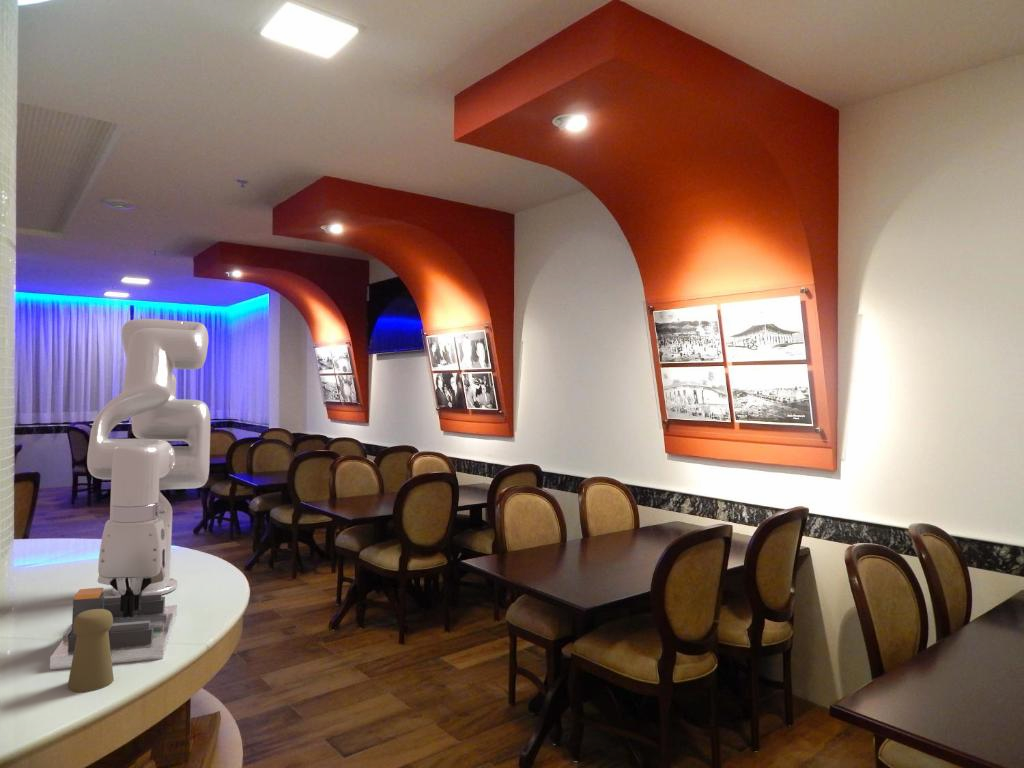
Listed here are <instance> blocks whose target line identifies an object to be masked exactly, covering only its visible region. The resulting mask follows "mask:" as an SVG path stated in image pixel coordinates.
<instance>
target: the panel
mask: <svg viewBox="0 0 1024 768" xmlns="http://www.w3.org/2000/svg"><path fill="white" fill-rule="evenodd" d="M177 610H178V605H177V604H174V605H165V609H164V612H163V613H156V614H144V615H135V616H134V617H129V616H128V617H125V618H123V616H118V617H113V623H125V622H137V621H149V620H150V625H154V630H153V640H152V643H151V644H145V645H134V646H123V647H113V648H110V651H111V660H112V665H113V664H120V663H121V664H125V663H131V662H141V661H142V662H143V661H152V660H161V659H163V658H164V657H165V656H164V655H165V652H166V649H167V646H168V644H169V640H170V636H171V633H172V632H173V631H172V630H173V628H174V625H175V621H176V618H177V616H178V613H177V612H178V611H177ZM71 633H72V623H71V624H70V625H69V627H68V628H67V630H65V632H64V634H63V636H62V637H63V638H62V640H61V642H60V643H59V645H58V646H57V647H56V648H55V650H54V652H53V653H52V655H51V656H50V657H49V671H53V670H63V669H71V665H72V660H73V654H74V651H70V652H68V638H69V636H70V634H71Z"/></svg>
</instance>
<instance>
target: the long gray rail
mask: <svg viewBox="0 0 1024 768" xmlns="http://www.w3.org/2000/svg"><path fill="white" fill-rule="evenodd" d="M120 604H121V595H119V596H115V595H107V596H106V595H105V596H104V609H106V610H108V611H110V612H111V614H112V616H113V617H118V616H123V611H120ZM165 606H166V596H163V594H162V593H148V594H142V600H141V609H140V610H139V611H138V612H137V613H136V615H144V614H156V613H163V612H164V609H165ZM153 630H154V625H150V620H149V621H137V622H125V623H113V624H112V627H111V628H110V630H109V631H108V633H109V642H110V648H113V647H123V646H134V645H145V644H151V643H152V640H153ZM76 638H77V635H76V634H75V633H74V630H73V632H72V633H71V634H70V636H69V638H68V652H70V651H74V649H75V644H76Z"/></svg>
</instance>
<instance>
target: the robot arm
mask: <svg viewBox="0 0 1024 768" xmlns="http://www.w3.org/2000/svg"><path fill="white" fill-rule="evenodd" d="M121 341H122V347H123V351H124V354H125V357H126V363H125V374H124V380H123V389H122V392H120V393H119V394H118V395H116V396H115V397H114V398H112V399H111V400H110V401H108V403H107V404H105V405H104V406H103V408H102V409H101V410H100V411H99V413H98V414H97V415H96V417H95V419H94V420H93V423H92V426H91V429H90V434H89V442H88V448H87V457H86V465H87V470H88V472H89V474H90V475H91V476H92V477H94V478H95V479H99V480H110V503H109V507H110V510H109V519H108V520H106V522H105V525H104V527H103V532H102V536H101V541H100V547H99V556H98V563H97V564H98V565H97V566H98V568H97V570H98V571H97V572H98V577H97V583H98V584H102V585H106V586H111V587H112V589H111V590H112V591H111V593H112V595H113V596H119V595H121V604H120V611H123V618H125V617H128V616H129V617H134V616H135V615H136V613H137V612H138V611H139V610H140V609H141V600H142V594H148V593H162V595H165V594H167V593H170V592H173V591H174V590H176V589H177V588H178V580H176V578H172V577H171V557H172V556H171V555H172V554H171V553H172V530H173V508H172V507H173V506H172V505H171V503H170V502H169V500H168V499H167V498H166V497H165V496H164V495H163V493H162V492H161V491H165V490H184V489H185V490H189V489H198V488H203V486H205V485H206V483H207V482H208V480H209V474H210V453H211V452H210V451H211V413H210V409H209V407H208V405H207V404H206V403H205V402H204V401H202V400H199V399H183V398H180V399H179V398H177V397H176V394H177V393H176V392H177V391H176V390H177V378H176V376H175V375H174V372H173V370H199V369H201V368H202V367H203V366H204V364H205V363H206V360H207V354H208V348H209V347H208V346H209V333H208V329H207V328H206V326H205V324H204V323H201V322H197V321H188V320H187V321H186V320H172V319H159V318H135V319H131V320H128V321H126V322H125V323H124V324H123V326H122V328H121ZM130 418H131V430H132V434H133V436H135V438H109V436H110V433H111V432H112V430H113V429H114V428H115V427H116V426H117V425H120V423H121V422H123V421H126V420H128V419H130ZM169 442H185V443H187V445H188V446H187V445H185V446H183V445H180V446H179V445H178V446H173V445H171V443H169Z"/></svg>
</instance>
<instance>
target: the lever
mask: <svg viewBox="0 0 1024 768" xmlns="http://www.w3.org/2000/svg"><path fill="white" fill-rule="evenodd" d="M105 593H106V592H105V591H104V587H92V588H88V587H87V588H79V590H78V591H77V592H76V593H75V594H74V599H73V600H72V617H71V618H72V620H71V624H72V632H73V622H74V619H75V618H76V616H77V615H78V614H80V613H82V612H84V611H87V610H92V609H104V597H105V596H106V595H105Z"/></svg>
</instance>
